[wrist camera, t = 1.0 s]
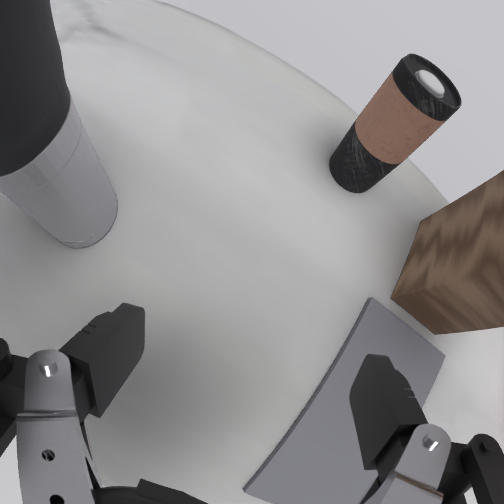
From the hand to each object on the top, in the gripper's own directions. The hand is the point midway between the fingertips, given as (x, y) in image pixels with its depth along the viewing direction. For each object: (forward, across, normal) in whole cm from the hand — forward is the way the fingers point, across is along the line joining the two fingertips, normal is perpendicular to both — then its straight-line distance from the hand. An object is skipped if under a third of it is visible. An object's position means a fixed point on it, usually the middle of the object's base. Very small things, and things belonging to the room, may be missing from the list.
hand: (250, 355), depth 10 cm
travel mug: (+34, -10, -8) cm, 37 cm away
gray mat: (+16, -16, +20) cm, 30 cm away
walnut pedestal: (+29, -24, +3) cm, 38 cm away
